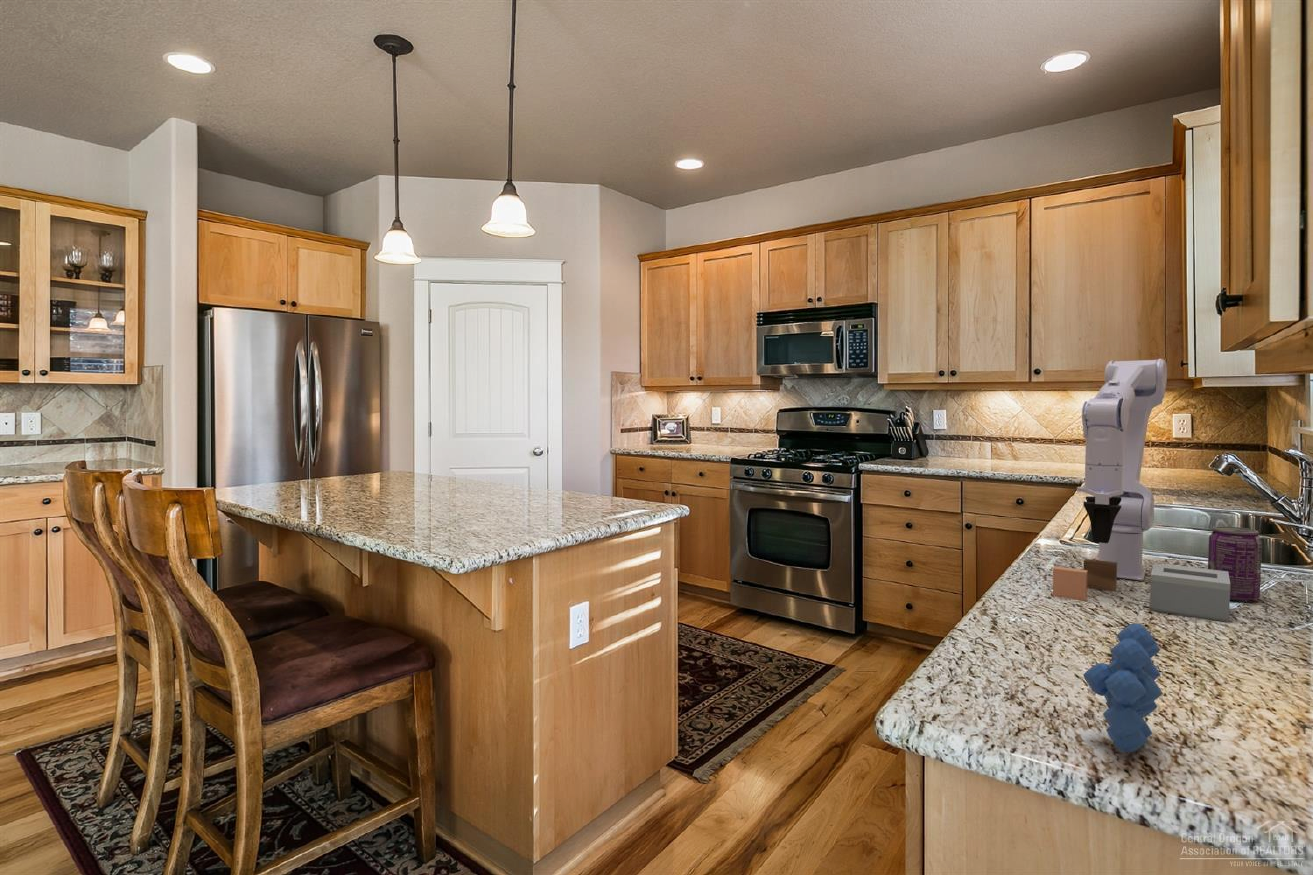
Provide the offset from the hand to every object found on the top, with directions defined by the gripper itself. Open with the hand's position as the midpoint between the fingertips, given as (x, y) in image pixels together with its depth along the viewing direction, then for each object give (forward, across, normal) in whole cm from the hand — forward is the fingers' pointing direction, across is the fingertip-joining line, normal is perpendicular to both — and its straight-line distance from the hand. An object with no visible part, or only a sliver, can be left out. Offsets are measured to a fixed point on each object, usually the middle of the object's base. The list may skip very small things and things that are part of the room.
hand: (1101, 538), depth 125 cm
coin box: (+9, +6, +12) cm, 17 cm away
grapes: (+9, +66, +3) cm, 66 cm away
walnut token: (+9, -1, 0) cm, 9 cm away
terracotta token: (+9, +9, -4) cm, 14 cm away
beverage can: (+10, -6, +19) cm, 23 cm away
